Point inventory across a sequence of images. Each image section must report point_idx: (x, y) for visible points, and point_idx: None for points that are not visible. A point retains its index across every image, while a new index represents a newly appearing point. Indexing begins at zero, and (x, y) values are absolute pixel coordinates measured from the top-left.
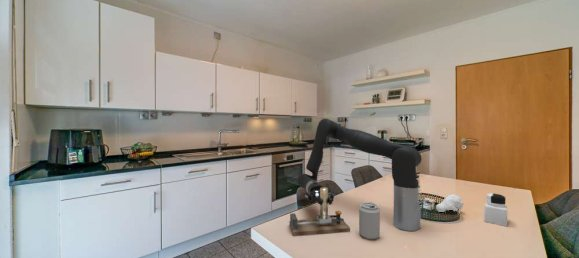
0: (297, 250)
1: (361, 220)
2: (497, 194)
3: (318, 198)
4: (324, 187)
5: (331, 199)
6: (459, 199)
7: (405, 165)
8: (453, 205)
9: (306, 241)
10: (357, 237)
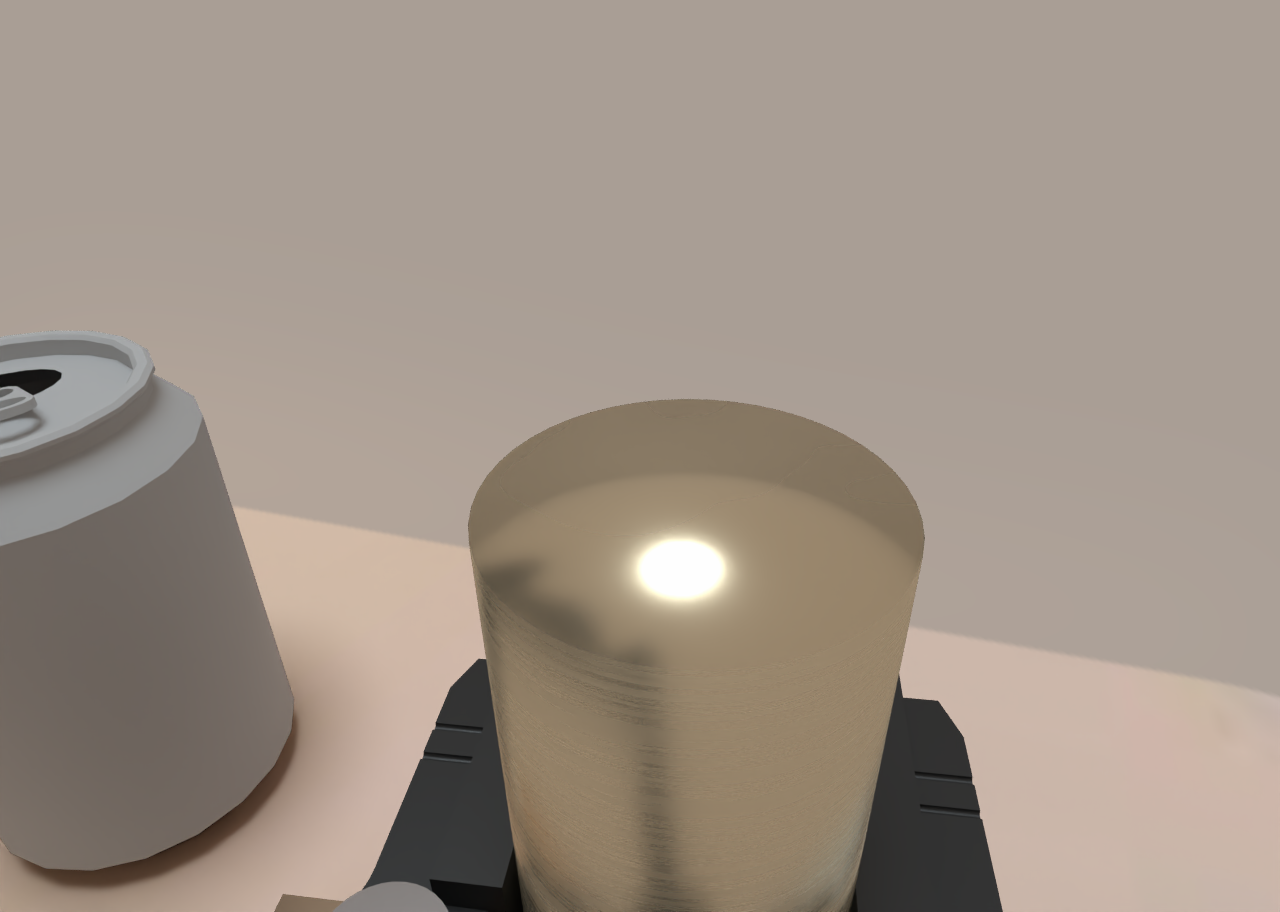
0: (1191, 704)
1: (240, 574)
2: None
3: (930, 904)
4: (584, 611)
5: (475, 697)
6: None
7: None
8: None
9: (1091, 847)
10: (344, 765)
